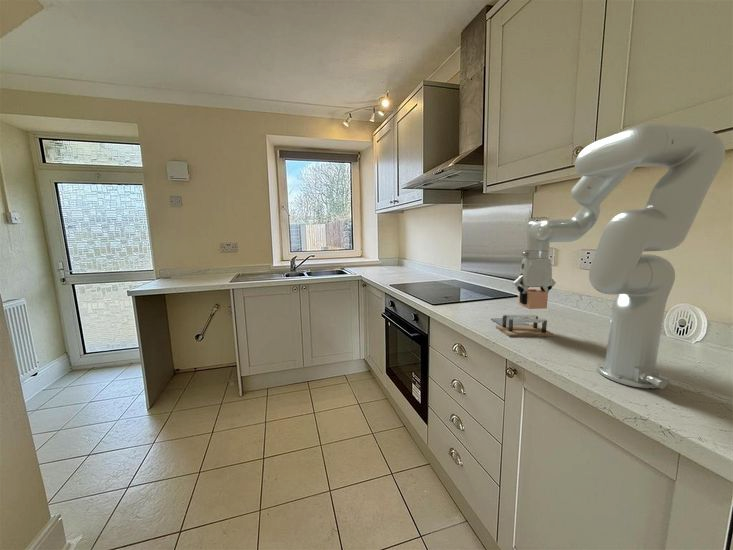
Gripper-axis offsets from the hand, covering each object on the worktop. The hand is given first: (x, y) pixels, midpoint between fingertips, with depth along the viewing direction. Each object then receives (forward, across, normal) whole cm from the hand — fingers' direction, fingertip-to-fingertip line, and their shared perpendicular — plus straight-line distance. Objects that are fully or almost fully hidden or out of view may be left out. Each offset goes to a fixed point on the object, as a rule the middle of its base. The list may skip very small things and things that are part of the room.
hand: (532, 302), depth 108 cm
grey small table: (+11, -4, -1) cm, 11 cm away
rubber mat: (+11, -3, +10) cm, 15 cm away
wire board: (+11, -4, -1) cm, 11 cm away
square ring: (+1, 0, 0) cm, 1 cm away
